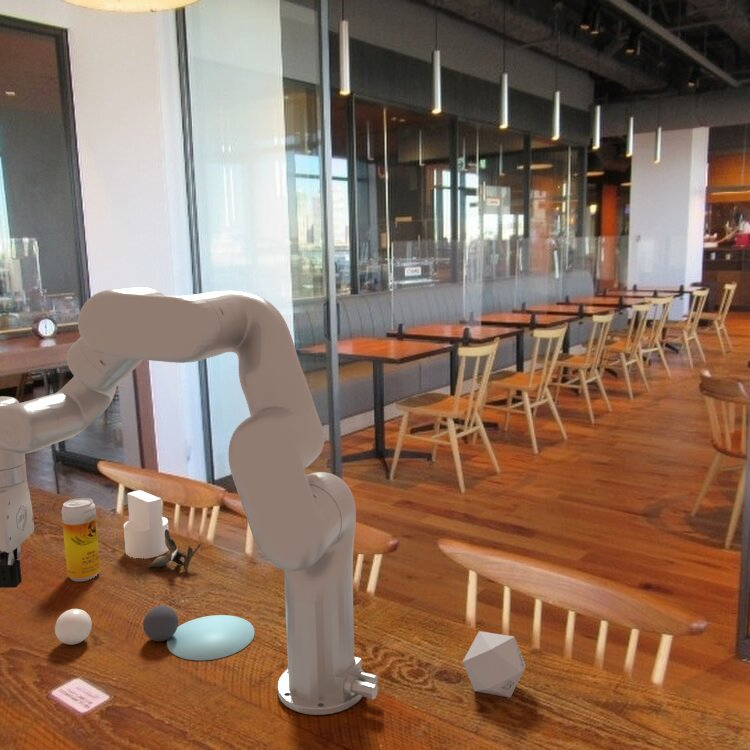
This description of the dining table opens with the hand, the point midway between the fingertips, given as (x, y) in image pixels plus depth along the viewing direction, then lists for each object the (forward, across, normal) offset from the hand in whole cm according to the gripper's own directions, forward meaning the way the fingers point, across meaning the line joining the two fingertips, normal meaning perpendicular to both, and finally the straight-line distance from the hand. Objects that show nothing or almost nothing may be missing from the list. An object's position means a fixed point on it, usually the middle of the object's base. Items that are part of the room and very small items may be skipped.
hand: (9, 585), depth 119 cm
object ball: (+6, -1, -24) cm, 25 cm away
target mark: (+9, -1, -32) cm, 33 cm away
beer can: (+10, +24, -3) cm, 26 cm away
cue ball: (+7, -1, -10) cm, 12 cm away
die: (+8, -18, -75) cm, 78 cm away
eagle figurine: (+10, +27, -19) cm, 35 cm away
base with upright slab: (+10, +36, -12) cm, 40 cm away
